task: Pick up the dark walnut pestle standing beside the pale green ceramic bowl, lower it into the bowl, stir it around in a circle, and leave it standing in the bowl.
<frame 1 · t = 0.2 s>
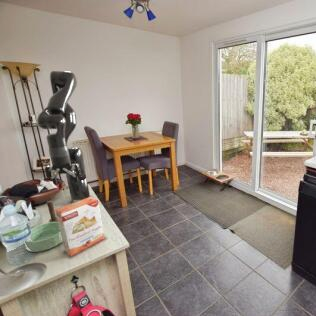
hand: (66, 183, 116), 18 cm above the table, tool pointing down, fingers open, 8 cm apart
cracker box: (86, 245, 99), on the table
bowl: (47, 241, 100), on the table
pestle: (55, 226, 110), on the table
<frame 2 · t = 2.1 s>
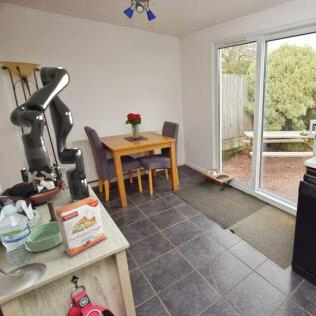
hand: (45, 188, 103), 21 cm above the table, tool pointing down, fingers open, 8 cm apart
nothing on the table moved.
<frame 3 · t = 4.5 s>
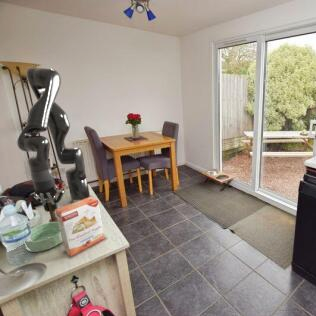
hand: (51, 210, 107), 9 cm above the table, tool pointing down, fingers closed on pestle, 2 cm apart
pestle: (55, 226, 110), on the table, touching gripper
everything else where it was.
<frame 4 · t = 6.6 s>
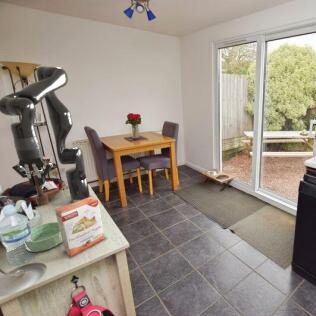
hand: (38, 185, 97), 25 cm above the table, tool pointing down, fingers closed on pestle
pestle: (43, 203, 100), point 16 cm above the table, touching gripper
everything else where it was.
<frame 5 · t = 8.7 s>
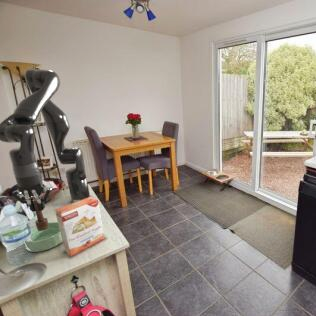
hand: (38, 210, 95), 16 cm above the table, tool pointing down, fingers closed on pestle
pestle: (43, 228, 97), point 7 cm above the table, touching gripper
everything else where it was.
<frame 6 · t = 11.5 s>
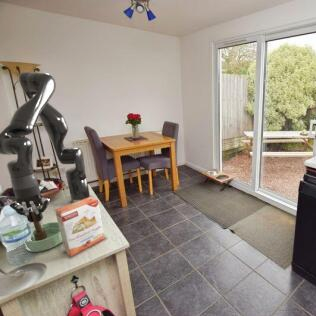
hand: (36, 220, 95), 12 cm above the table, tool pointing down, fingers closed on pestle, 2 cm apart
pestle: (41, 238, 98), point 3 cm above the table, touching gripper
everything else where it was.
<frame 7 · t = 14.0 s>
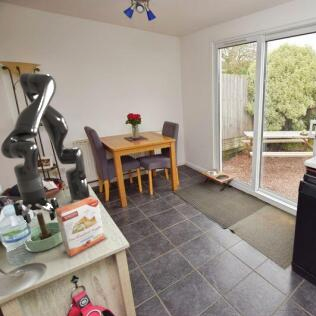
hand: (41, 220, 96), 11 cm above the table, tool pointing down, fingers open, 8 cm apart
pestle: (46, 240, 100), point 1 cm above the table, touching bowl
everything else where it was.
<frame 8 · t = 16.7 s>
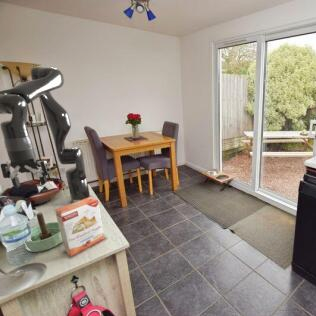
hand: (30, 185, 91), 28 cm above the table, tool pointing down, fingers open, 8 cm apart
nothing on the table moved.
at the end: pestle inside the target area in the bowl (0.0 cm from its centre), point 0.6 cm above the bowl's base; pestle tilted 0°; the gripper is holding nothing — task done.
